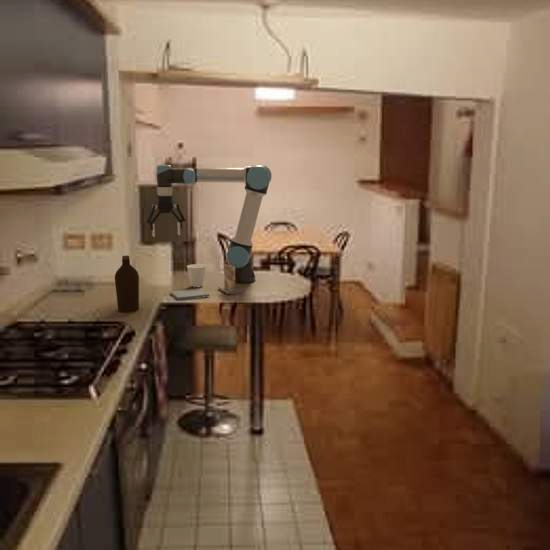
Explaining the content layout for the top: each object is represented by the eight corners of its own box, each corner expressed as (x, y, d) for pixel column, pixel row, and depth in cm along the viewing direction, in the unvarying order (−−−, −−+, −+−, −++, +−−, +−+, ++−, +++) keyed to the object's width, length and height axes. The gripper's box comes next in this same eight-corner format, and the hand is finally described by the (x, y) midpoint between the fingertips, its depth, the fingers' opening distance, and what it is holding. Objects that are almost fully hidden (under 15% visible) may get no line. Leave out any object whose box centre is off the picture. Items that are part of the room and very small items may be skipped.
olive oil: (137, 313, 277) (134, 258, 272) (113, 313, 277) (110, 258, 272) (142, 307, 287) (140, 254, 282) (120, 306, 288) (117, 253, 282)
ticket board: (201, 290, 318) (200, 287, 318) (209, 297, 306) (209, 293, 305) (170, 294, 312) (170, 290, 311) (177, 300, 299) (177, 297, 299)
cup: (207, 284, 333) (207, 264, 330) (203, 288, 323) (203, 268, 321) (189, 284, 334) (189, 264, 331) (185, 288, 324) (184, 267, 322)
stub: (232, 287, 325) (232, 262, 322) (242, 293, 312) (241, 267, 310) (218, 288, 322) (217, 263, 319) (227, 294, 309) (226, 268, 306)
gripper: (186, 193, 330) (187, 233, 334) (139, 195, 320) (141, 236, 324) (190, 194, 323) (191, 235, 327) (142, 196, 313) (144, 238, 317)
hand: (166, 235), depth 326 cm, fingers open, 13 cm apart
